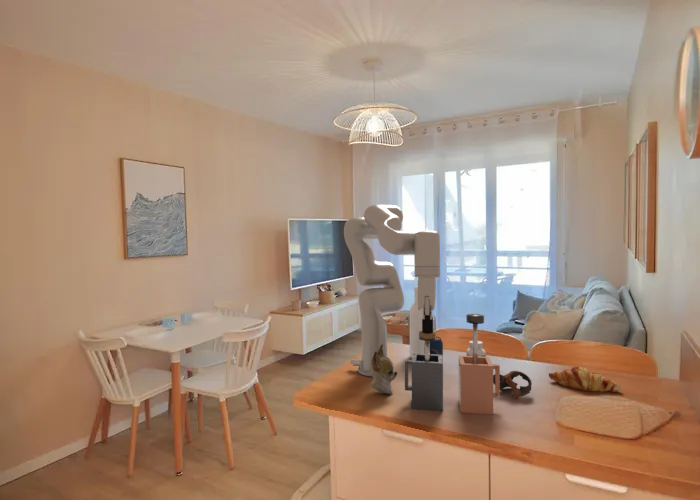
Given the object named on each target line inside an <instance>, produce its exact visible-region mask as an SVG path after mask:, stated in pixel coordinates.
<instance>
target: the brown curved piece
mask: <svg viewBox="0 0 700 500" xmlns="http://www.w3.org/2000/svg"><path fill="white" fill-rule="evenodd" d="M519 376H520V377H521V378H522V380H525V381H527V383H528V384H527V385H526V386H522V385H521V386H519V388H518V387H517V386H518V382H515V381H514V379H515V378H517V377H519ZM532 383H533V382H532V380H531V379H530V377H529V376H528V375H527V373H526V374H525V373H524V372H522V371H519V370H512V371H509V372H508V373H506V374H504V375H503V374H500V391H502V390H503V389H505V388H511V390H513V391H514V392H513V394H512V398H513V399H515V400H516V399H517V400H518V399H519V398H520V397H524V396H526V395H529V394H530V393H531V391H532ZM493 386H495V374H493Z"/></svg>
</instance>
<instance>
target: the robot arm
mask: <svg viewBox="0 0 700 500" xmlns="http://www.w3.org/2000/svg"><path fill="white" fill-rule="evenodd" d="M403 215H404V213H403V211H402V209H401V208H400V207H399V206H397V205H395V204H393V205H392V204H373V205H369V206H368V207H367V208H366V209H364V212H363V217H362V216H358V217H352V218H349V219H348V220H347V221H345V222H344V227H343V237H344V241H345V245H346V246H347V248H348V250H349V253H350V255H351V258H352V262H353V268H354V272H355V275H356V278H357V279H356V280H357V281H358V283H359V285H360V286H362V287H370V288H367V289H364V290H362V291H361V292H360V293H359V295H358V305H359V306H358V307H359V312H360V317H361V319H360V320H361V321H360V322H361V358H359V359H352V358H351V359H350V365H352V366H353V367H358V368H357V372H358V373H359V375H362V376H365V377H372V378H373V375H372V371H371V366H372V357H373V355H374V353H375V351H376V352H378V350H379V348H380V346H381V344H383V348H382V350H383V354H384V356H385V357H387V358H388V344H387V343H388V334H387V333H388V332H387V330H388V328H387V322H386V321H385V319H384V318H383V316H382V314H384V313H386V314H387V313H394V312H399V311H401V310H402V309H403V307H404V305H405V298H404V292H403V288H402V286H401V282H400V278H399V274H398V272H397V268H396V266H395V265H394V264H393V263H392V262H390V261H377V260H376V258H375V255H374V254H375V253H374V251H373V249H372V248H371V246H370V245H369V244H368V243H367V242H366V241H364V239H365V240H366V239H368V240H369V239H371V240H374V239H375V240H376V239H377V240H378V242H379V245H380V246H381V247H382V248H383V249H384V250H385V252H388V253H390V255H391V254H392V255H394V256H400V255H401V256H402V255H403V256H405V255H414V278H417V286H418V310H419V311H420V309H422V307H423V319H422V332H423V333H433V331H434V318H433V311H435V306H436V296H437V294H436V293H437V291H436V290H437V287H436V286H437V278H440V277H441V267H440V266H441V258H440V257H441V256H440V255H441V253H440V252H441V250H440V246H441V243H440V241H441V239H440V233H439V232H438V231H436V230H423V231H422V230H402V226H403V225H402V224H403V220H404V216H403ZM371 287H372V288H371ZM373 287H374V288H373Z"/></svg>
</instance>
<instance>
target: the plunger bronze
mask: <svg viewBox="0 0 700 500" xmlns="http://www.w3.org/2000/svg"><path fill="white" fill-rule="evenodd" d="M436 337H437V333H436V331H434V330H433V333H423V332H422V331H419V339H420V340H424V341H425V361H427V362H430V341H433V340H435V339H436Z"/></svg>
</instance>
